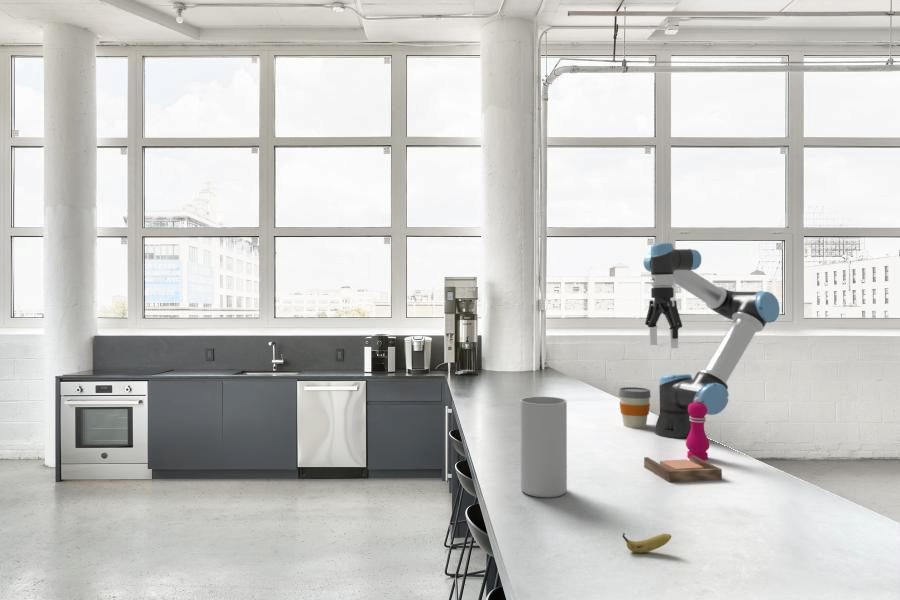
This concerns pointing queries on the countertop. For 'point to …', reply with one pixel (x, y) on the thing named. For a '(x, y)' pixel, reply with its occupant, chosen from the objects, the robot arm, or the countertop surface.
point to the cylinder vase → (544, 446)
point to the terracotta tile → (680, 465)
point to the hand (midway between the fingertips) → (663, 346)
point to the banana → (647, 543)
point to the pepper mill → (697, 431)
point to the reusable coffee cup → (634, 406)
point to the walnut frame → (685, 471)
